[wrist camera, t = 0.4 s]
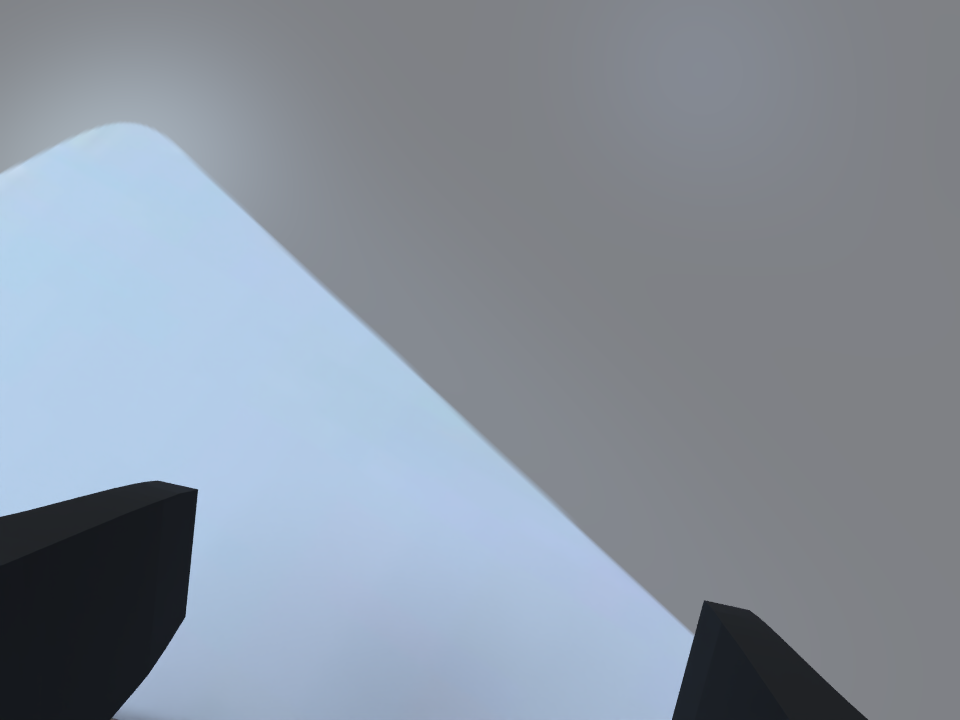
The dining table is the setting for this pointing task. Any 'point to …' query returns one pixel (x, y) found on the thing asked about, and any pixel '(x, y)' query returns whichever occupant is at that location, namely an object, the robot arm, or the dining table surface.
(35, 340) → the dining table surface
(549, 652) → the dining table surface
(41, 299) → the dining table surface
